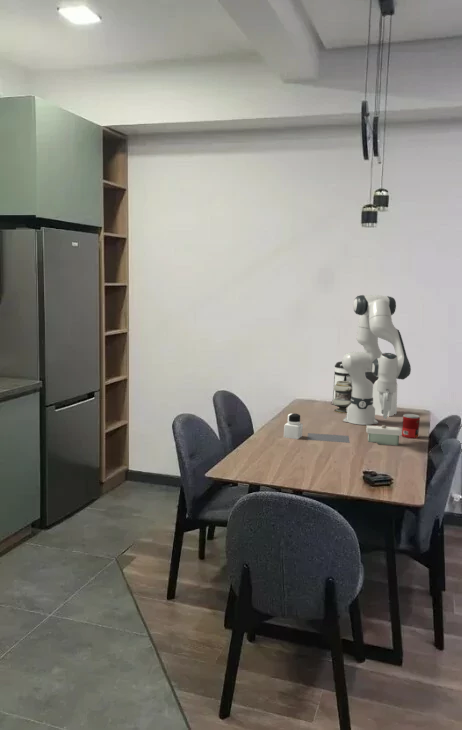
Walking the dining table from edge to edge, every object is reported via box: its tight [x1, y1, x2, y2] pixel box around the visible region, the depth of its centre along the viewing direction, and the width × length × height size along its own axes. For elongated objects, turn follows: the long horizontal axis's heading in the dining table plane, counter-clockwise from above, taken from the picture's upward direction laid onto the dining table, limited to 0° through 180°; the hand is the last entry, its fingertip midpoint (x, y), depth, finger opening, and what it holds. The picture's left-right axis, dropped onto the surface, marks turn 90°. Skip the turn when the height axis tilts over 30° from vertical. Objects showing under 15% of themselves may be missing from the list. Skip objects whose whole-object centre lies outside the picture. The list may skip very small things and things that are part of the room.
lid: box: [365, 424, 402, 437], centre depth 305 cm, size 6×16×4 cm, turn 82°
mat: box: [307, 432, 351, 444], centre depth 309 cm, size 14×20×1 cm
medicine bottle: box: [283, 413, 304, 440], centre depth 307 cm, size 7×7×12 cm
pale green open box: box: [367, 433, 400, 446], centre depth 305 cm, size 5×14×5 cm, turn 82°
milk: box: [372, 379, 398, 418], centre depth 375 cm, size 12×12×26 cm
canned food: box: [401, 413, 421, 439], centre depth 320 cm, size 8×8×11 cm
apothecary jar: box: [332, 381, 352, 414], centre depth 378 cm, size 12×12×18 cm
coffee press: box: [330, 360, 352, 405], centre depth 398 cm, size 17×16×30 cm
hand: (384, 415), depth 304 cm, fingers open, 8 cm apart
